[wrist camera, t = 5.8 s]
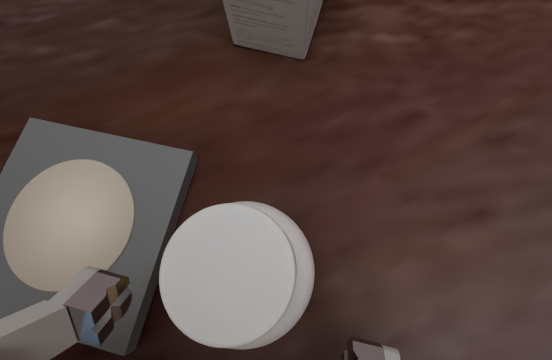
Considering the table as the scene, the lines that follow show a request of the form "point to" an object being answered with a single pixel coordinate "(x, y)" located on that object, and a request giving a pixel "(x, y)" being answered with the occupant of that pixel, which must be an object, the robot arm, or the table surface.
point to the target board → (88, 216)
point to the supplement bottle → (236, 275)
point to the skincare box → (273, 24)
